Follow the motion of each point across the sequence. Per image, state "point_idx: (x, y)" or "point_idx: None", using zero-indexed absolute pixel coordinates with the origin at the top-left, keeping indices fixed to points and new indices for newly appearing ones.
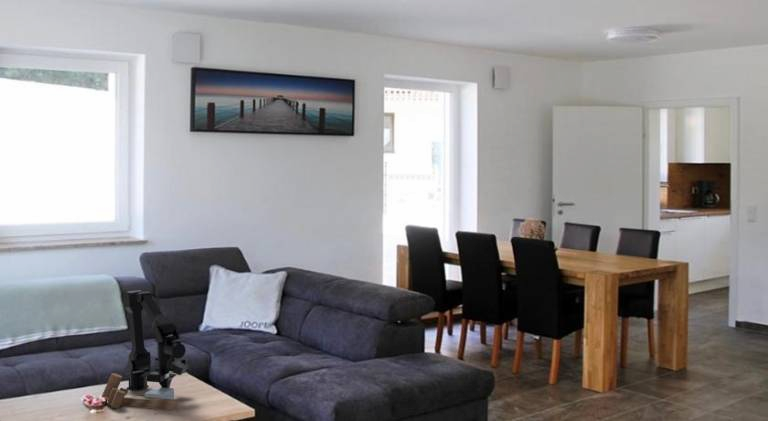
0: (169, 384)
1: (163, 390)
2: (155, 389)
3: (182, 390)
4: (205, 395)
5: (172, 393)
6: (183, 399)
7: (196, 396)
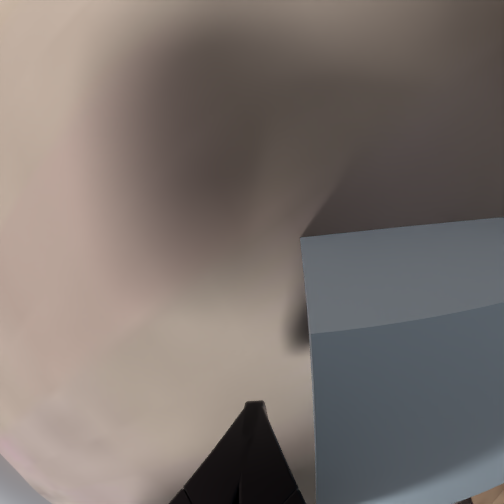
0: (213, 501)
1: (500, 401)
2: (439, 496)
3: (17, 356)
4: (4, 52)
5: (364, 275)
6: (215, 126)
7: (47, 90)
